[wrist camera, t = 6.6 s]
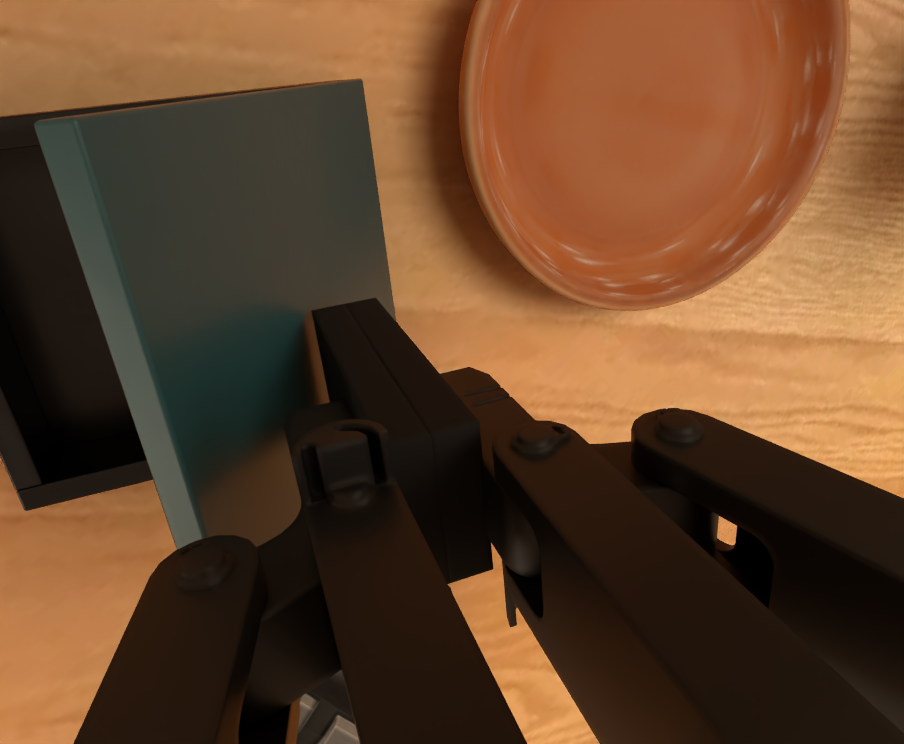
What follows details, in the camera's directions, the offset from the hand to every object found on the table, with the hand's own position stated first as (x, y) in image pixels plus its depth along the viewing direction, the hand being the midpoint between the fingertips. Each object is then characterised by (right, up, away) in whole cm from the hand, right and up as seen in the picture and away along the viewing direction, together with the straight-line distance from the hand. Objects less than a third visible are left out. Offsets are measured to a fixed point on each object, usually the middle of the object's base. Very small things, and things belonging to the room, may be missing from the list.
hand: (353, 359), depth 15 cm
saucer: (+9, +11, +11) cm, 18 cm away
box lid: (-1, 0, +1) cm, 1 cm away
